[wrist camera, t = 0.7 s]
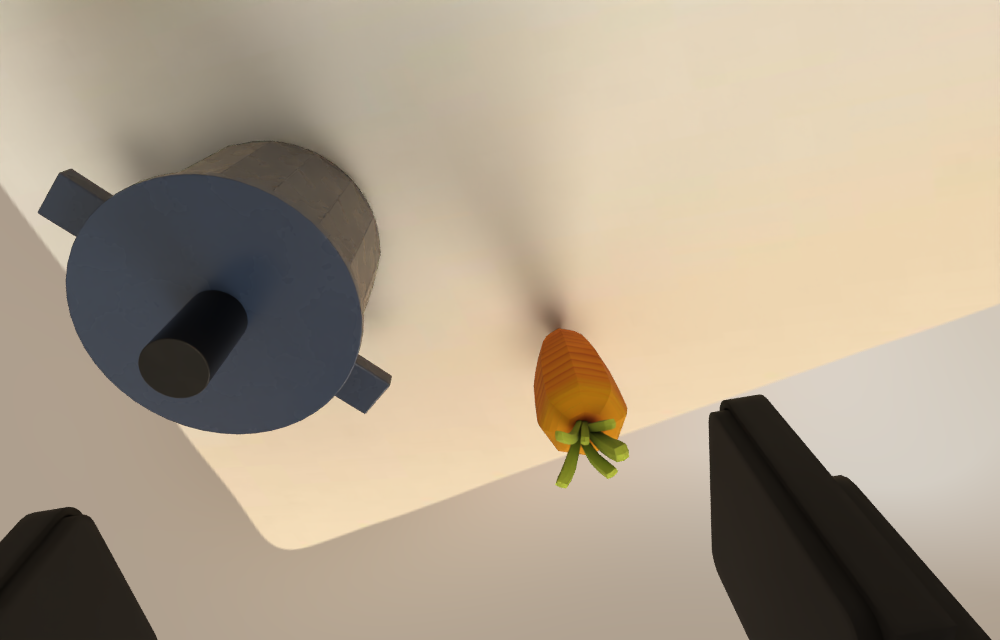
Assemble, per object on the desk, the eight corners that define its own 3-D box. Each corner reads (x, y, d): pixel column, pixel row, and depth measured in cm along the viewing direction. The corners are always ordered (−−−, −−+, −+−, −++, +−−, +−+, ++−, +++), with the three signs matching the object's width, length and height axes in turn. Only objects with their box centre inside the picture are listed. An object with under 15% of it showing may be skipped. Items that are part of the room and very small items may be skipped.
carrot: (528, 370, 45) (555, 520, 32) (517, 307, 43) (540, 440, 29) (597, 357, 45) (654, 503, 31) (589, 294, 43) (646, 421, 29)
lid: (163, 103, 27) (84, 125, 22) (420, 285, 31) (409, 344, 26) (32, 327, 31) (-62, 394, 26) (274, 462, 35) (238, 545, 30)
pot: (198, 62, 36) (101, 79, 26) (453, 252, 41) (449, 323, 32) (99, 231, 39) (-18, 299, 30) (344, 384, 45) (311, 482, 35)
